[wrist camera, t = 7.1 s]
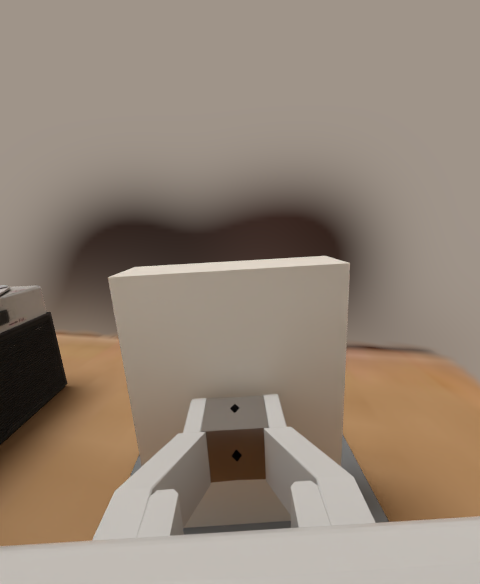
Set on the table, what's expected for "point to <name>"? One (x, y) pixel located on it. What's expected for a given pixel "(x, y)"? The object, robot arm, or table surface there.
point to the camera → (26, 357)
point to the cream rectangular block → (235, 356)
